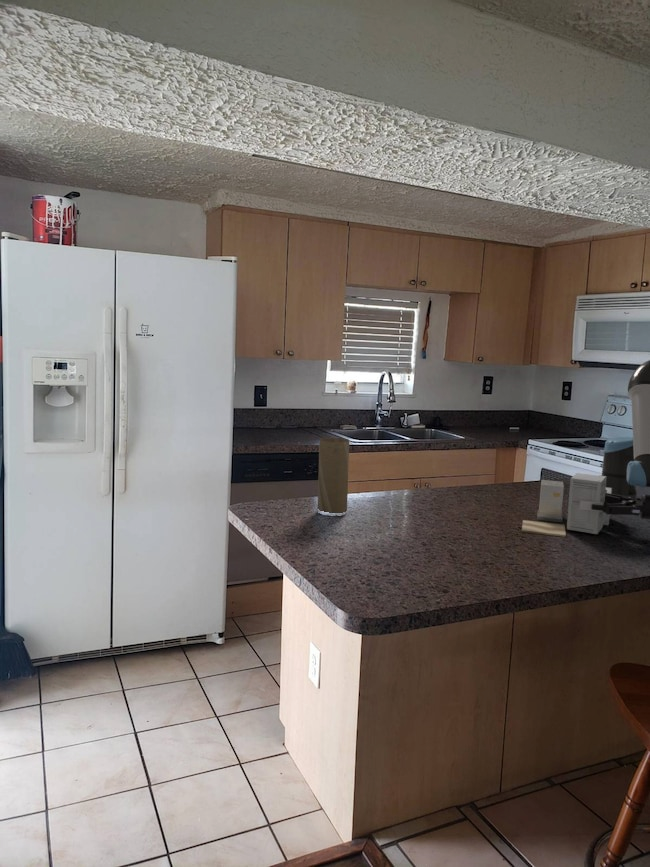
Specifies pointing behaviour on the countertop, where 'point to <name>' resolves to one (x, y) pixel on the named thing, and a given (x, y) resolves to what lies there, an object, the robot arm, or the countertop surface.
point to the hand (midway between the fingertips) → (578, 500)
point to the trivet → (543, 528)
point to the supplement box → (585, 490)
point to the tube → (333, 474)
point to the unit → (551, 501)
